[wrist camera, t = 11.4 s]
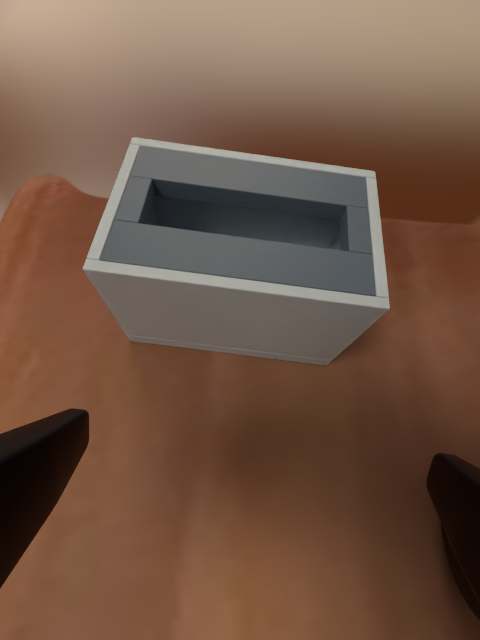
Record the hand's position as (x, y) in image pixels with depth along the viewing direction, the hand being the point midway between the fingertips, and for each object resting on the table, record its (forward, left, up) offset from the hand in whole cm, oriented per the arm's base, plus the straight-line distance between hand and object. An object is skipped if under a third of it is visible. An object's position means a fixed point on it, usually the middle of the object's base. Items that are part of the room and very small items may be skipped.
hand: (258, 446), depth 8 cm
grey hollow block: (+6, +3, -8) cm, 11 cm away
